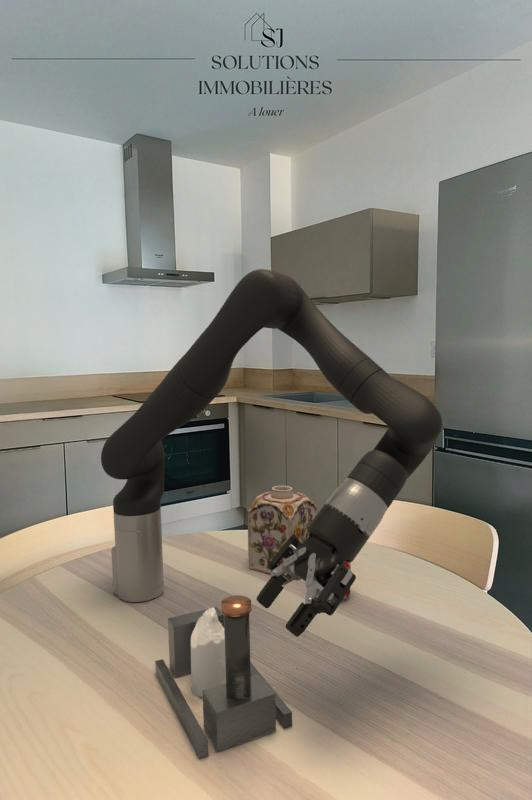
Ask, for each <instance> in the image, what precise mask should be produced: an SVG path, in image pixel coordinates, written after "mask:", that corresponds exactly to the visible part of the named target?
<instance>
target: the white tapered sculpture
mask: <svg viewBox="0 0 532 800" xmlns="http://www.w3.org/2000/svg"><path fill="white" fill-rule="evenodd" d="M210 608H211V609H210ZM207 609H208V610H206V611H205V613H203V615H202V616H201V617H200V618H199V619H198V621H197V623H196V626H195V628H194V630H193V633H192V635H191V674H190V688H191V691H192V693H193V695H195V696H196V697H198V698H202V699H203V690H206V689H209V688H212V687H216V686H219V685H222V684H225V683H226V669H225V634H224V628H223V626H222V624H221V623H220V622H219V621H218V617H217V614H216V610H215V609H214V607H209V608H207Z"/></svg>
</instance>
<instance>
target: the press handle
mask: <svg viewBox="0 0 532 800" xmlns="http://www.w3.org/2000/svg"><path fill="white" fill-rule="evenodd" d="M220 608H221V610H220V611H221V612H222V613H223V614H224V634H225V669H226V683H225V684H222V685H219V686H216V687H212V688H209V689H206V690H203V698H202V712H203V713H202V714H203V715H202V717H203V728H204V730H205V731H206V733H207V734H206V735H208V737H209V739H210V740H211V743H212V744H213V746H214V748H215V749H216V752H220V751H222V750H226V749H229V748H231V747H234V746H237V745H240V744H242V743H247V742H248V741H251V740H253V739H257V738H259V737H263V736H266V735H268V734H270V733H274V732H276V731H277V719H276V700H275V693H274V691H275V690H274V689H273V690H274V691H273V690H272V689H271V688H270V687H269V685H270V684H269V683H268V684H269V685H268V684H267V683H266V682H265V681H264V679H265V678H264V677H263V678H264V679H263V678H262V677H261V676H260V675H259V674H255V675H252V676H251V663H252V662H251V639H250V638H251V631H250V630H251V629H250V628H251V627H250V625H251V623H250V613H251V611H253V610H252V599H251V598H249V597H248V596H245V595H239V594H238V595H236V594H235V595H231V596H227V597H225V598H223V599H222V600H221V601H220ZM250 662H251V663H250Z"/></svg>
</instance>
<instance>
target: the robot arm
mask: <svg viewBox="0 0 532 800" xmlns="http://www.w3.org/2000/svg"><path fill="white" fill-rule="evenodd" d="M264 328H265V329H271V330H272V329H273V330H275V329H276V330H279V331H280V332H282V333H284V334H285V335H287V336H288V337H290V338H291V339H293V340H294V341H296V342H297V344H299V345H300V346H301V347H302V348H303V349H304V350H305V351H306V352H307V353H308V354H309V356H310V357H311V358H312V360H313V361H314V363H315V364H316V366H317V368H318V369H319V370H320V372H321V373H322V375H323V377H325V379H326V380H327V382H329V384H330V385H331V386H332V387H333V388H334V389H335V390H336V391H338V393H339V394H340V395H342V396H343V397H344V398H345V399H346V400H347V401H348V402H349V403H350V404H352V406H353V407H354V408H355V409H357V410H358V411H359V412H361V413H363V414H366V415H371V414H373V415H374V417H377V418H378V419H379V420H380V421H381V422H383V423H384V424H385V425H387V429H386V431H385V433H384V434H383V436H382V437H381V438H380V439H379V441H378V443H376V445H375V446H374V448H373V449H372V450H369V451H368V452H366V453H365V454H364V455H363V456H362V457H361V458H360V460H359V461H358V462H357V464H356V465H355V466H354V468H353V469H352V470H351V472H350V473H349V474H348V475H347V477H346V478H345V479H344V481H343V482H342V483H340V485H339V486H338V487H337V488H336V489H335V490H334V491H333V493H332V494H331V495H330V496H329V498H328V499H327V500H326V502H325V503H324V504H323V506H322V507H321V508H320V509H319V511H317V515H316V516H315V518H314V519H313V520H312V522H311V523H310V524H309V526H308V527H307V530H308V532H309V537H308V538H307V539H306V540H305V541H304V542H302V541H301V540H300V539H299V538H298V537H297V536H296V535H292V536H291V537H290V538H289V539H288V540H287V542H286V543H285V544H284V545H283V546H282V548H281V549H280V550H279V551H278V553H277V554H276V555H275V556H274V558H273V559H272V560H271V561H270V562H269V564H268V568H269V569H270V570H271V574H270V576H271V577H270V578H269V579H268V580H267V582H266V583H265V585H264V586H263V587H262V588H261V590H260V592H259V593H258V595H257V597H256V601H257V603H259V604H260V605H261V606H262V607H263V608H265V609H269V608H271V606H272V604H273V603H274V602H275V600H276V599H277V597H278V596H279V595H280V594H281V592H283V591H282V590H283V589H284V588H285V587H284V586H286V585H288V584H289V583H292V582H293V581H296V582H297V581H300V580H303V581H305V587H306V592H305V598H304V602H301V603H300V604H299V605H298V606H297V608H296V610H295V611H294V612H293V614H292V615H291V617H290V618H289V619H288V621H287V622H286V624H285V628H286V630H287V631H288V632H290V633H291V634H292V635H293V636H295V637H300V636H301V635H302V634H303V633H305V631H306V630H307V628H308V627H309V625H310V624H311V623H312V621H313V619H315V617H316V616H317V615H319V614H321V613H322V614H326V615H328V616H333V615H334V613H335V612H336V610H337V609H338V607H339V606H340V604H341V602H342V601H343V600H344V599H343V598H344V596H345V595H346V593H347V592H348V590H349V589H350V590H351V587H352V585H353V584H354V583H355V581H356V579H357V575H356V574H355V573H353V571H352V570H350V569H349V568H347V567H346V566H345V565H344V562H347V563H351V564H352V562H354V560H355V559H356V557H357V556H358V555H359V553H360V552H361V551H362V549H363V547H364V546H365V545H366V543H367V542H368V541H369V539H370V537H372V535H373V534H374V532H375V530H376V529H377V528H378V526H379V525H380V523H381V522H382V520H383V518H384V516H385V514H386V512H387V511H388V509H389V507H391V506H392V504H393V502H394V501H395V499H396V498H397V497H398V495H399V494H400V492H401V491H402V489H403V487H404V486H405V484H406V482H407V479H409V478H410V477H411V476H412V474H414V472H415V471H416V470H417V468H419V466H420V465H421V464H422V463H423V462H424V461H425V459H426V457H428V455H429V454H430V452H431V451H432V450H433V448H434V446H435V444H436V442H437V441H438V438H439V436H440V434H441V432H442V429H443V420H442V415H441V413H440V410H439V409H438V408H437V406H436V405H435V404H434V403H433V402H432V401H431V400H430V399H429V398H428V397H426V396H425V395H424V394H423V393H421V392H420V391H417V390H416V389H414V388H412V387H411V386H410V385H407V384H405V383H404V382H402V381H400V380H398V379H396V378H394V377H392V376H391V375H390V374H389V373H388V372H387V371H386V370H384V368H382V367H381V366H380V365H379V364H378V363H377V362H375V361H374V360H373V359H372V358H371V357H370V356H368V355H367V354H366V353H365V352H364V351H362V349H360V348H359V347H358V346H357V345H356V344H354V342H353V341H351V340H350V339H349V338H348V337H346V336H345V335H344V333H342V332H341V331H340V330H339V329H338V328H337V327H336V326H335V325H334V324H332V322H331V321H330V320H329V319H328V318H327V316H325V315H324V313H322V311H321V310H320V309H319V308H318V306H317V305H316V304H315V303H314V302H313V301H312V299H311V297H310V296H308V294H307V293H306V292H305V291H304V289H303V288H302V287H301V285H300V284H299V283H298V282H297V281H296V280H295V279H294V278H292V277H291V276H289V275H288V274H287V275H286V274H283V273H280V272H277V271H274V270H270V269H265V268H263V269H262V268H261V269H260V268H258V269H255V270H252V271H250V272H248V273H246V275H244V276H243V277H242V278H241V279H240V280H239V282H238V283H237V284H236V285H235V287H234V288H233V289H232V291H231V292H230V294H229V295H228V297H227V298H226V299H225V301H224V303H223V304H222V306H221V307H220V309H219V311H218V312H217V313H216V315H215V316H214V318H213V319H212V321H210V323H209V324H208V326H207V327H206V328H205V329H204V331H203V332H201V334H200V335H199V336H198V338H197V339H196V340H195V342H194V343H192V345H191V347H189V349H188V350H187V351H186V353H184V354H183V356H182V357H180V359H178V360H177V362H176V363H175V364H174V365H173V367H172V368H171V369H170V370H169V371H168V372H167V374H166V375H165V377H164V378H163V379H162V380H161V382H160V383H159V384H158V386H156V388H155V389H153V391H152V392H151V393H150V395H149V396H147V399H145V400H144V402H143V403H142V404H141V406H140V407H139V408H138V409H137V410H136V411H135V412H134V413H133V414H132V415H131V416H130V417H129V418H128V419H127V420H126V421H125V422H124V423H122V424H121V425H120V426H119V427H118V428H117V429H116V430H114V432H112V434H111V435H110V436H109V437H107V439H106V441H105V443H104V444H103V447H102V449H101V454H100V463H101V466H102V469H103V471H104V473H105V474H106V475H107V476H109V477H110V478H113V479H115V480H120V481H121V480H123V481H124V480H125V481H126V482H125V485H124V486H123V488H122V489H121V490H119V492H117V493H116V495H115V496H114V497H113V502H112V507H113V509H112V510H113V528H114V546H113V547H112V548H111V551H110V553H111V569H112V570H111V572H112V573H111V574H112V588H113V589H112V590H113V595H116V596H117V597H118V598H119V599H120V600H122V601H124V602H132V603H140V602H146V601H150V600H153V599H156V598H158V597H160V596H161V595H162V594H163V593H164V591H165V585H164V584H165V581H164V578H165V577H164V559H163V558H164V557H163V556H164V554H163V530H162V511H161V510H162V505H161V504H162V503H161V502H162V501H161V500H162V498H163V495H164V490H165V451H164V450H165V449H164V444H163V442H162V440H163V439H164V438H165V437H166V436H169V435H170V434H171V433H173V432H175V431H177V430H178V429H179V428H181V427H183V426H184V425H185V424H187V423H188V422H191V421H192V420H193V419H194V418H196V417H197V416H198V415H199V414H200V413H201V412H203V411H204V410H205V409H206V408H207V407H208V406H209V405H210V404H211V403H212V402H213V401H214V400H215V398H217V396H219V394H220V393H221V391H222V390H223V389H224V387H225V386H226V383H227V382H228V379H229V376H230V373H231V371H232V367H233V362H234V360H235V358H236V356H237V355H238V353H239V352H240V351H241V349H242V348H243V347H244V346H245V345H246V344H247V343H248V342H249V341H250V340H251V339H252V338H253V337H254V336H255V335H256V334H257V333H259V332H260V331H261V330H262V329H264ZM282 558H285V560H283V564H282V565H280V566H279V565H278V563H279V562H280V561H281V559H282ZM294 564H295V565H294ZM293 565H294V566H293ZM285 573H288V574H287V575H285ZM331 593H333V594H334V596H333V597H332V599H331V601H327V599H328V598H329V596H330V595H331ZM342 599H343V600H342Z"/></svg>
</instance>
